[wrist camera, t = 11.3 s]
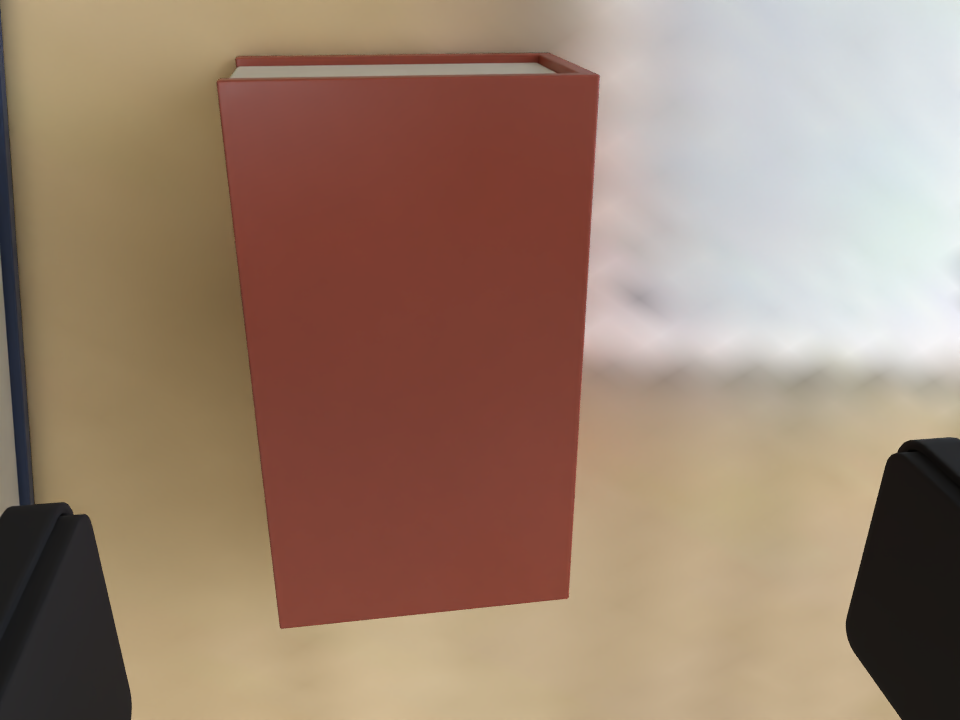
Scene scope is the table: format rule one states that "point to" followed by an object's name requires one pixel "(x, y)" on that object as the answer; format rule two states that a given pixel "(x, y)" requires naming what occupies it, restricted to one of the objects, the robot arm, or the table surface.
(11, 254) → the hardcover book
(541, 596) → the pocket book
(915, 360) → the table surface
